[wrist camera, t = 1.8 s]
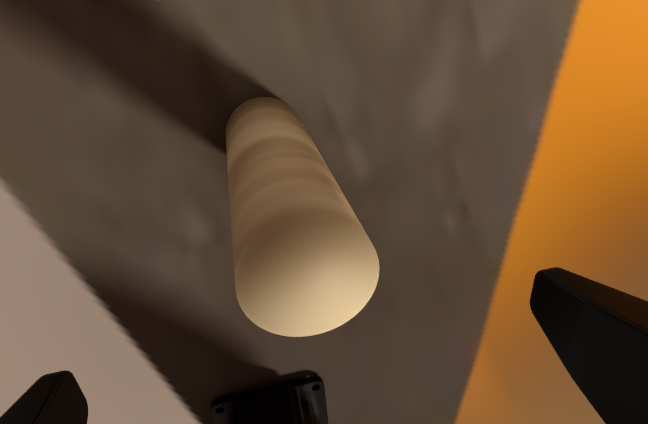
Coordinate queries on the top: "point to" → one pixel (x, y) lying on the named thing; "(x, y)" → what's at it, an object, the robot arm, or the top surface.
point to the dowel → (292, 227)
